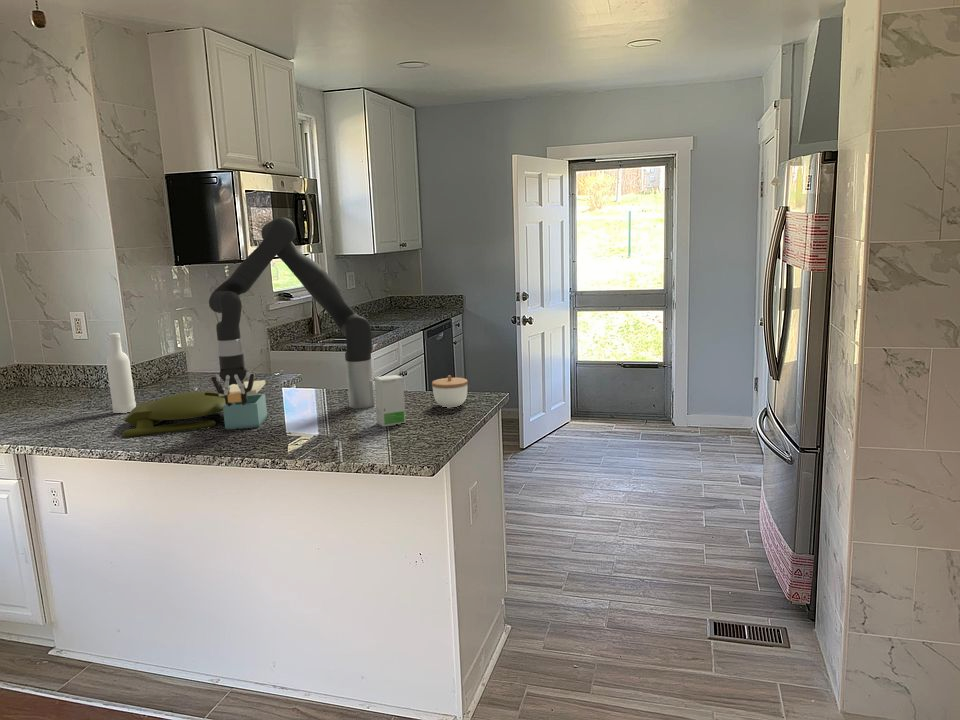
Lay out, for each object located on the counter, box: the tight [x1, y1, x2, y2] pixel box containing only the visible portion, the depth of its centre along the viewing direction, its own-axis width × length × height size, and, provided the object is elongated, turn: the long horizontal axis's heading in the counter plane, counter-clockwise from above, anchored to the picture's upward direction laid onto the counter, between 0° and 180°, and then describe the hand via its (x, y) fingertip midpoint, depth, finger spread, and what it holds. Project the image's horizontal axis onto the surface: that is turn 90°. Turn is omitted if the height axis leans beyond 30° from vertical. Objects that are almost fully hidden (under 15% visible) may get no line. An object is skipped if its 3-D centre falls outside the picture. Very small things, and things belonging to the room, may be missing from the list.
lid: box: [217, 379, 266, 403], centre depth 240 cm, size 12×22×2 cm, turn 6°
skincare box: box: [373, 374, 407, 427], centre depth 234 cm, size 8×7×16 cm
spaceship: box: [122, 391, 225, 438], centre depth 251 cm, size 35×31×10 cm
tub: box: [222, 393, 268, 430], centre depth 245 cm, size 11×15×8 cm
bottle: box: [106, 332, 137, 414], centre depth 269 cm, size 8×8×30 cm
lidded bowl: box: [431, 374, 469, 409], centre depth 254 cm, size 13×13×11 cm
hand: (236, 404), depth 232 cm, fingers closed on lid, 4 cm apart
